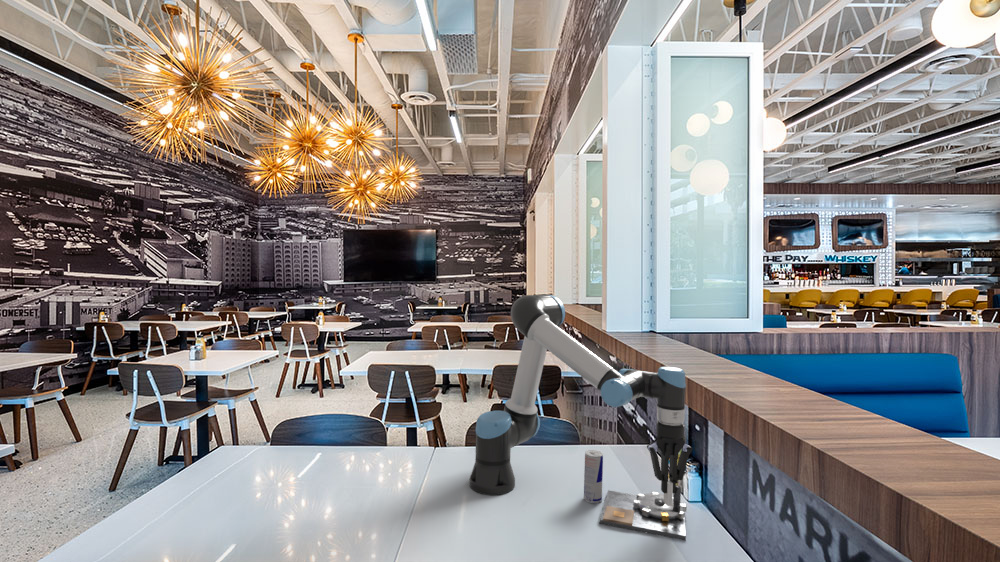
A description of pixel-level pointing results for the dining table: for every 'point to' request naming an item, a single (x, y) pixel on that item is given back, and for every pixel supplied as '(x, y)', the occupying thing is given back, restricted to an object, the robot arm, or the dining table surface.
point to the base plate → (643, 518)
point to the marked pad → (619, 515)
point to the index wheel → (660, 505)
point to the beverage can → (593, 476)
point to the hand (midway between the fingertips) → (667, 503)
